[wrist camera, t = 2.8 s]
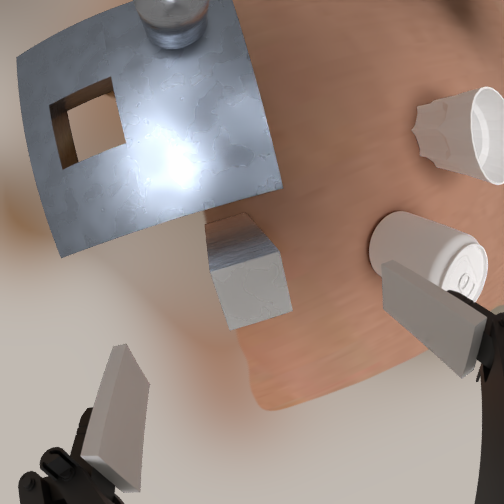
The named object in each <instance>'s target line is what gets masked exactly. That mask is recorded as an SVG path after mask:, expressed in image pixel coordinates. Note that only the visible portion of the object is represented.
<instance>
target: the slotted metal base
mask: <svg viewBox="0 0 504 504" xmlns="http://www.w3.org/2000/svg"><path fill="white" fill-rule="evenodd" d="M17 76H18V88H19V97H20V106H21V113H22V120H23V126H24V132H25V137H26V142H27V147H28V152H29V156H30V161H31V165H32V169H33V173H34V177H35V181H36V185H37V188H38V192H39V195H40V199H41V202H42V205H43V209H44V211H45V215H46V218H47V221H48V224H49V227H50V230H51V232H52V235H53V238H54V240H55V243H56V246H57V249H58V251H59V254H60V256H61V258H63V257H66V256H68V255H71V254H73V253H76V252H79V251H82V250H84V249H87V248H90V247H93V246H96V245H98V244H101V243H104V242H107V241H109V240H112V239H115V238H118V237H121V236H124V235H127V234H130V233H133V232H136V231H139V230H142V229H145V228H148V227H151V226H154V225H157V224H160V223H164V222H167V221H170V220H173V219H176V218H179V217H183V216H186V215H189V214H193V213H196V212H199V211H203V210H206V209H210V208H213V207H216V206H220V205H223V204H227V203H230V202H234V201H237V200H241V199H245V198H248V197H252V196H256V195H259V194H263V193H267V192H271V191H274V190H278V189H282V188H283V185H282V181H281V176H280V172H279V168H278V164H277V160H276V155H275V151H274V147H273V143H272V139H271V135H270V131H269V127H268V123H267V119H266V115H265V112H264V108H263V104H262V100H261V96H260V93H259V89H258V85H257V82H256V78H255V75H254V71H253V67H252V64H251V60H250V57H249V53H248V50H247V47H246V43H245V40H244V37H243V33H242V30H241V27H240V23H239V20H238V17H237V14H236V11H235V7H234V4H233V1H232V0H133V1H132V2H129V3H126V4H123V5H120V6H118V7H115V8H112V9H110V10H107V11H105V12H102V13H99V14H97V15H95V16H92V17H90V18H88V19H85V20H83V21H81V22H79V23H77V24H75V25H73V26H71V27H69V28H67V29H65V30H63V31H61V32H59V33H57V34H55V35H53V36H51V37H49V38H48V39H46V40H44V41H42V42H41V43H39V44H37V45H35V46H34V47H32V48H30V49H29V50H27V51H26V52H24V53H23V54H21V55H20V56H18V57H17ZM113 90H114V93H115V98H116V102H117V107H118V111H119V116H120V119H121V124H122V128H123V132H124V136H125V140H126V143H125V144H122V145H120V146H117V147H114V148H112V149H109V150H107V151H104V152H102V153H100V154H97V155H95V156H92V157H90V158H88V159H85V160H83V161H81V162H78V158H77V154H76V150H75V146H74V142H73V138H72V133H71V129H70V124H69V119H68V114H67V111H68V110H70V109H72V108H74V107H76V106H78V105H81V104H83V103H85V102H87V101H89V100H92V99H94V98H96V97H99V96H101V95H104V94H106V93H108V92H111V91H113Z"/></svg>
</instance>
